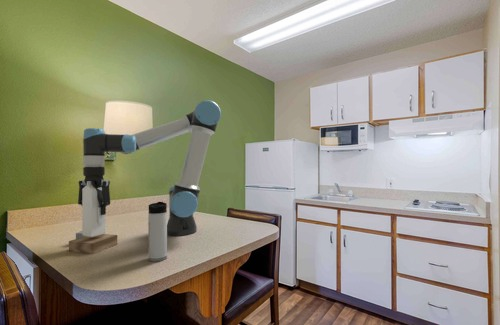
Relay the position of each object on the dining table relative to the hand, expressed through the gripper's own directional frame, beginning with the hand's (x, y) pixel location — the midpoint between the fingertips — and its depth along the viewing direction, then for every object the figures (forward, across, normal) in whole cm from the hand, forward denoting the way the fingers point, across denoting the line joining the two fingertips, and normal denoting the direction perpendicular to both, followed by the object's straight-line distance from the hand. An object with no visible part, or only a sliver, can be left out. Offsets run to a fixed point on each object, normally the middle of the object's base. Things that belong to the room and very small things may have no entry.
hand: (94, 222), depth 104 cm
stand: (+10, 0, 0) cm, 10 cm away
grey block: (+11, +10, -4) cm, 15 cm away
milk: (+5, 0, 0) cm, 5 cm away
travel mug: (+11, -33, +4) cm, 35 cm away
